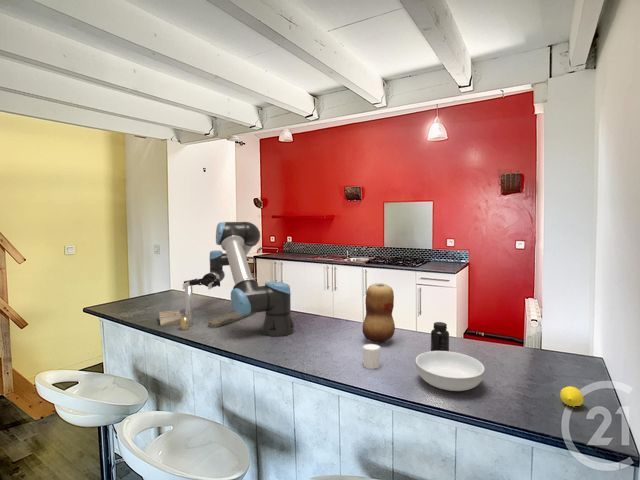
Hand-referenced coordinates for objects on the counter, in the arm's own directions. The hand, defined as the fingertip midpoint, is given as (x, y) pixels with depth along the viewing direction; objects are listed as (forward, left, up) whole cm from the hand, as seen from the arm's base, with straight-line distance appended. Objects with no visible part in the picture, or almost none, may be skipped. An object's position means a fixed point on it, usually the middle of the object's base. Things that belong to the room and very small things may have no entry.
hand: (196, 286), depth 191 cm
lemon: (-141, -81, -18) cm, 164 cm away
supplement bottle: (-95, -77, -18) cm, 124 cm away
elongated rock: (-7, -18, -18) cm, 26 cm away
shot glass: (-92, -47, -18) cm, 105 cm away
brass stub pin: (-15, +8, -18) cm, 24 cm away
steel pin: (-9, +5, -18) cm, 20 cm away
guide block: (+4, +13, -18) cm, 22 cm away
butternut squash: (-73, -64, -18) cm, 99 cm away
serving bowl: (-115, -61, -18) cm, 131 cm away
